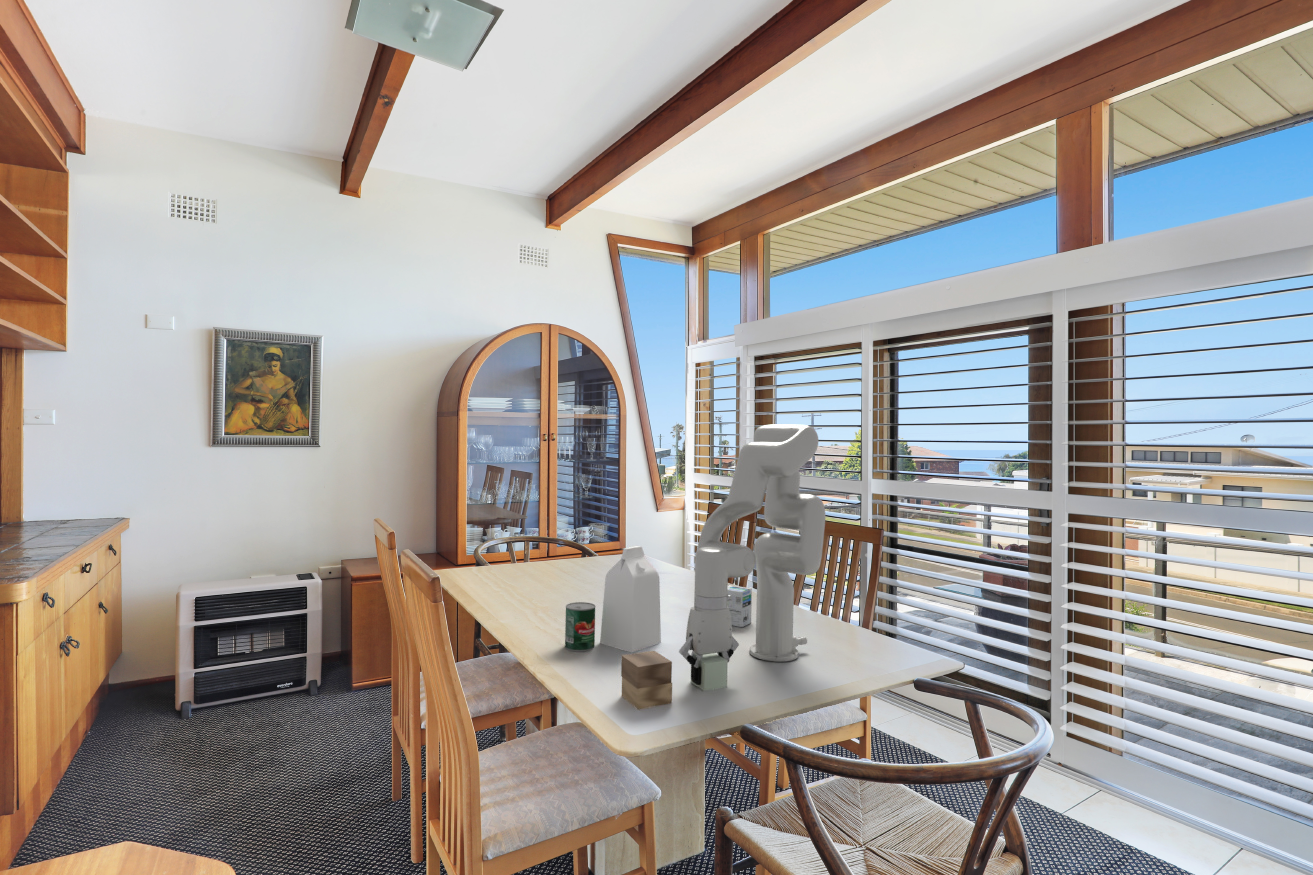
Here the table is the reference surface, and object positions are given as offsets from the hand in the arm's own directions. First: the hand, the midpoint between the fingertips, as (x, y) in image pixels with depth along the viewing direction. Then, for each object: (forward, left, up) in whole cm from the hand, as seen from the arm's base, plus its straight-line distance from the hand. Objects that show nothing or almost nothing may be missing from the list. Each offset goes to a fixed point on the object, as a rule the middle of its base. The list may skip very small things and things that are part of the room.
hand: (708, 680), depth 153 cm
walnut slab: (+17, +2, +3) cm, 17 cm away
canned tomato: (+17, -37, -1) cm, 41 cm away
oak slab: (+17, +2, -1) cm, 17 cm away
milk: (+3, -35, -1) cm, 35 cm away
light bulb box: (-34, -41, -1) cm, 53 cm away
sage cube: (0, 0, -1) cm, 1 cm away
